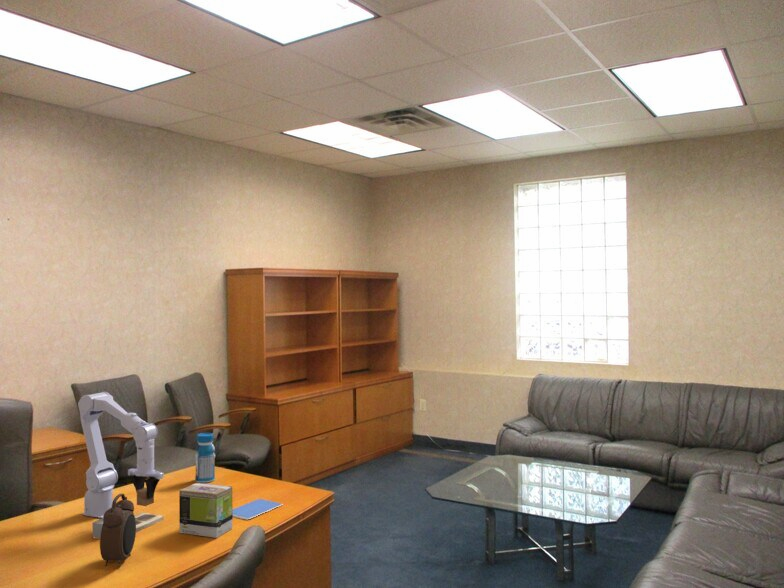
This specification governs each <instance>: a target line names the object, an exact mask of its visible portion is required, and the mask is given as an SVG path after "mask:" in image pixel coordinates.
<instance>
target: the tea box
mask: <svg viewBox="0 0 784 588" xmlns="http://www.w3.org/2000/svg"><path fill="white" fill-rule="evenodd" d="M178 497H179V508H178V509H179V511H178V512H179V517H178V518H179V522H178V524H179V525H178V526H179V530H178V531H179V533H180V534H187V535H194V536H201V537H207V538H213V539H214V538H215V539H218V538H219V537H221V536H223V535H224V534H226V533H227V532H229V531H231V530H233V518H234V517H233V509H234V508H233V486H231V485H225V484H224V485H222V484H212V483H199V482H195V483H193V484H190V485H188V486H187V487H184V488H181V489H179V496H178Z"/></svg>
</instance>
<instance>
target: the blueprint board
mask: <svg viewBox="0 0 784 588" xmlns="http://www.w3.org/2000/svg"><path fill="white" fill-rule="evenodd" d="M134 516H135V520H136V533H137V532H140V531H142V530H144V529H146V528H148V527H150V526H153V525H154V524H156V523H159V522H161V521H164V517H165V516H164V515H159V514H153V513H147V512H139V513H137V514H134Z"/></svg>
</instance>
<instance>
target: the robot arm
mask: <svg viewBox="0 0 784 588" xmlns="http://www.w3.org/2000/svg"><path fill="white" fill-rule="evenodd" d="M77 405H78V406H77V407H78V410H79V411H78V412H79V415H80V424H81V428H82V432H83V435H84V441H85V445H86V449H87V455H88V458H89V463H90V466H89V468H88V469H87V470H86V472H85V476H86V480H85V485H86V487H87V489H88V490H86V492H85V494H84V502H83V503H84V504H83V505H84V506H83V508H84V509H83V511H84V512H83V513H82V516H88V517H93V518H97V517H98V519H103V516H104V513H105V512H106V511H107V510H108V509H110V508H111V507H112V502H113V500H114V488H115V484H117V482H118V479H119V475H118V472H117V470H116V469H115V466H114V464H113V463H112V462H110V461H108V460H107V456H106V450H105V446H104V441H103V438H102V433H101V430H100V429H101V427H100V425H99V420H98V419H99V418H100V417H101V415H102V414H103V413H104V412H107V413H108V414H109V415H111V416H112V417H114V418H116V419H118V420H119V421H120V425H121V427H123V428H124V429H125V430H127V432H129V433H131V434H132V437H133V439H134V441H135V447H136V468H129V469H127V476H132V477H131V478H130V481H131V482H132V484H133V485H134V489H135V492H136V493H137V490H140V489H142V488H145V486H146V488H147V497H148V499H150V498H153V496H154V497H155V492H156V488H157V486H158V484H159V482H160V481H161V480H162V479H164V477H165V476H164V474H165V473H164V472H161V471H158V470H156V469H155V439H156V438H157V437H158V435H159V431H158V427H157V426H156V425H155V423H152V422H151V423H150V422H146V421H145V420H143V419H142V418H140V417H139V416H138V414H137V413H136V412H127V411H126V410H125V409H124V408H123V407H122V406H121V405H120V404H118V403H117V401H115V400H114V396H113V395H111V394H110V393H109V392H107V391H101V392H98V393H92V394H84V395H82V396H81V397H80V399H79V400H78V403H77Z"/></svg>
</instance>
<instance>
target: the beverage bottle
mask: <svg viewBox="0 0 784 588" xmlns="http://www.w3.org/2000/svg"><path fill="white" fill-rule="evenodd" d="M196 441H197V443H198V444H197V445H196V447H195V450H194V451H195V456H194V459H195V476H194V477H195V479H194V480H195V483H203V484H208V483H211V482H214V481H215V479H216V474H215V473H216V472H215V469H216V468H215V467H216V466H215V464H216V463H215V462H216V460H215V459H216V453H215V451H216V447H215V445H214V444H213V442H214V433H211V432H202V433H198V434H197V435H196Z"/></svg>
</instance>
